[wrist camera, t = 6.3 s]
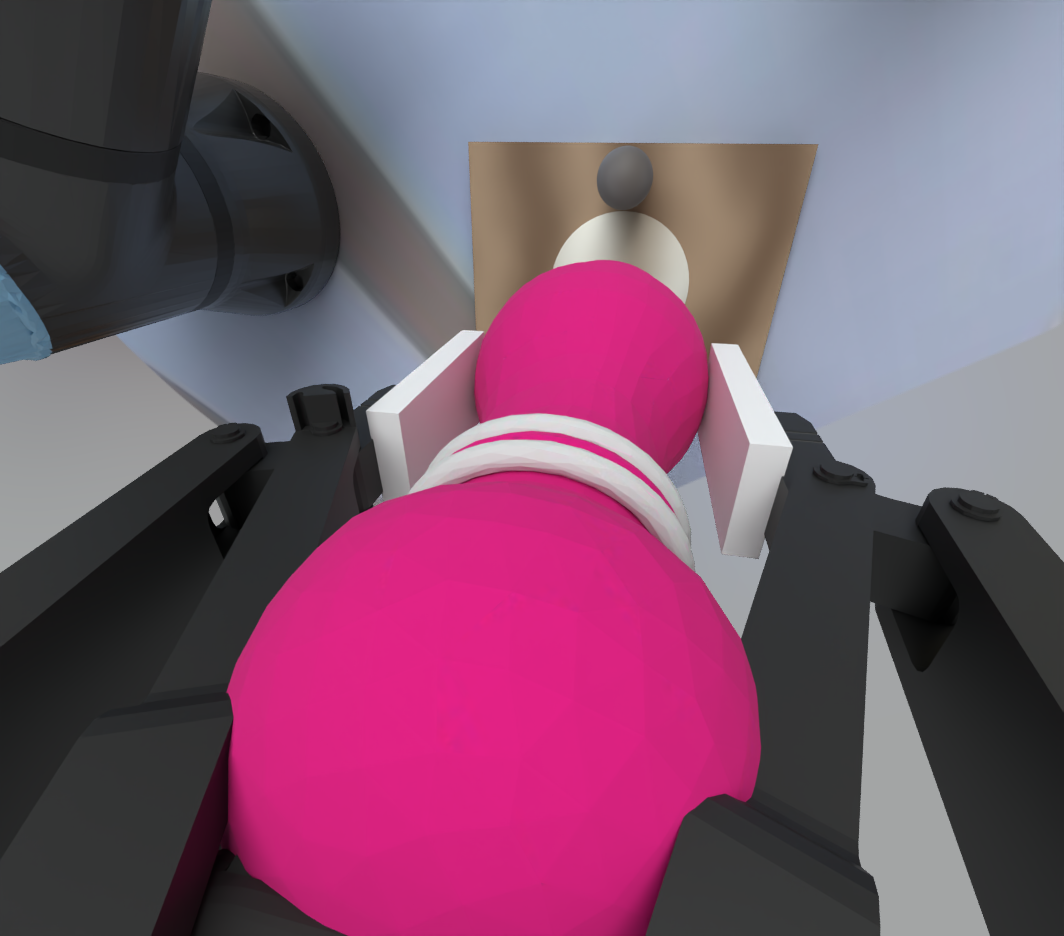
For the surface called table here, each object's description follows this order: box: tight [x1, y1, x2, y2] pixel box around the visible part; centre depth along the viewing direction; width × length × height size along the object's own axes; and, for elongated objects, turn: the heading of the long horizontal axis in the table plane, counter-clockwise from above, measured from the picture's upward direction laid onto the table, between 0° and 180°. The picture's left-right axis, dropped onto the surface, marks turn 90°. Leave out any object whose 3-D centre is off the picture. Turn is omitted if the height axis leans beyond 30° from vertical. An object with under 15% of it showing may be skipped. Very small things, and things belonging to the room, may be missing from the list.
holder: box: [468, 142, 818, 378], centre depth 30 cm, size 20×16×8 cm
